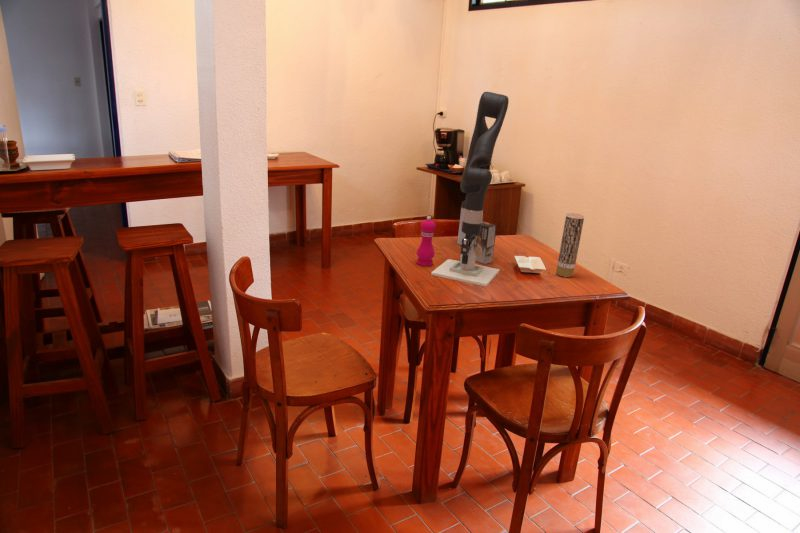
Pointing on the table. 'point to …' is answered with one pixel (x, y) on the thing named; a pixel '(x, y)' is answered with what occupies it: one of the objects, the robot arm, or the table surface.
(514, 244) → the table surface
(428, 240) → the pepper mill
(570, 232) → the paper tube
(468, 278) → the white switch plate
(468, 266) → the white tea box
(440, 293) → the table surface
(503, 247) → the table surface
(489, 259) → the coffee box
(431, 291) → the table surface
